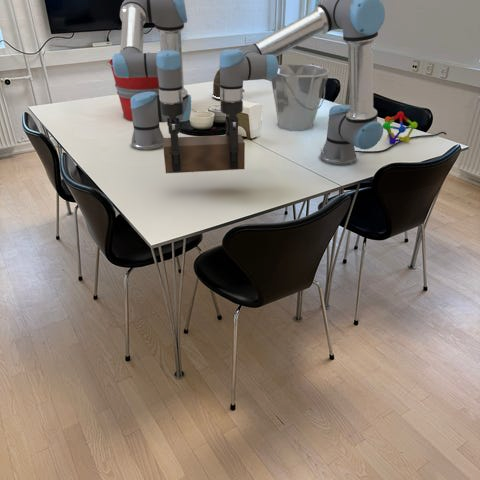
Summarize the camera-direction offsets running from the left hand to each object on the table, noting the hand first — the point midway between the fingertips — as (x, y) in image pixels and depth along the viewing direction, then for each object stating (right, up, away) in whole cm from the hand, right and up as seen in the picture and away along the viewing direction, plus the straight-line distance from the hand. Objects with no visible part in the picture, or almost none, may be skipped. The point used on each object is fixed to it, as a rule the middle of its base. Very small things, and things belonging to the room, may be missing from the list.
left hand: (176, 165), depth 157 cm
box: (+10, 0, +2) cm, 10 cm away
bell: (+14, +64, +124) cm, 140 cm away
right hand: (+20, +1, +3) cm, 20 cm away
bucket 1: (-30, +43, +90) cm, 104 cm away
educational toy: (+97, +20, +53) cm, 112 cm away
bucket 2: (+52, +34, +76) cm, 98 cm away
